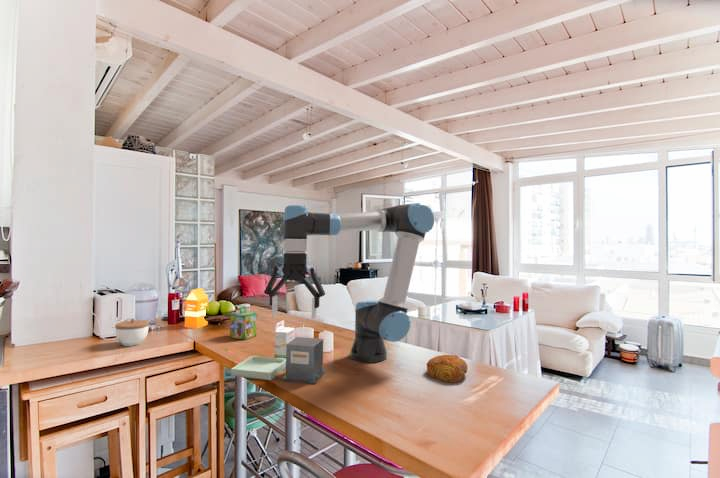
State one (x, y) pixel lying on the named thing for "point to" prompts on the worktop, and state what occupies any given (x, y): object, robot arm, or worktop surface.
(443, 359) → the brown rounded lump
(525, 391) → the worktop surface
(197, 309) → the orange juice
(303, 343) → the unit
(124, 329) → the lidded bowl
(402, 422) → the worktop surface
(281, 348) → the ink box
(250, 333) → the floral tea caddy
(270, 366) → the tray
